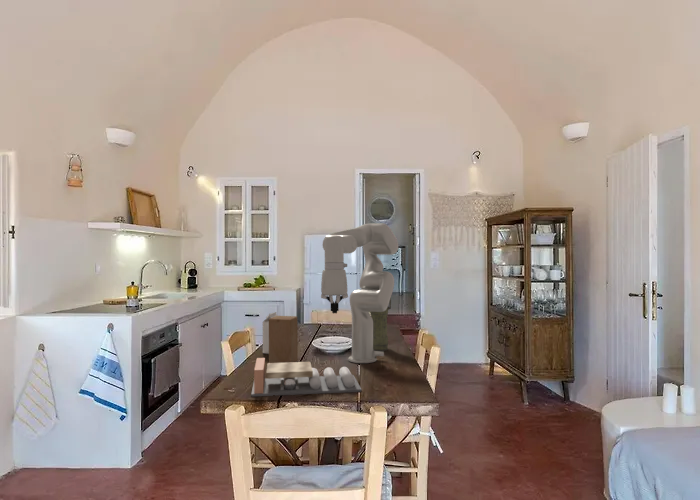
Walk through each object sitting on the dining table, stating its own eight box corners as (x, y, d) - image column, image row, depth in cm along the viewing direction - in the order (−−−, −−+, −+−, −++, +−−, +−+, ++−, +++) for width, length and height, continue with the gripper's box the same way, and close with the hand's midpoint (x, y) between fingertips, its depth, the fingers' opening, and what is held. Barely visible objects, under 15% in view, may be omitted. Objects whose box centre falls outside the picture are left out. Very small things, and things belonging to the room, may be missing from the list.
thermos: (367, 347, 243) (367, 277, 242) (390, 347, 242) (390, 278, 242) (366, 350, 234) (366, 279, 234) (391, 351, 233) (390, 279, 233)
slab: (310, 366, 182) (310, 361, 182) (312, 376, 168) (312, 371, 168) (267, 368, 180) (267, 363, 180) (266, 378, 166) (266, 372, 166)
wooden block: (290, 366, 204) (290, 319, 203) (268, 365, 206) (268, 318, 205) (297, 361, 213) (297, 316, 213) (276, 360, 215) (276, 315, 215)
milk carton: (282, 351, 233) (282, 312, 233) (275, 354, 226) (275, 314, 226) (269, 350, 235) (269, 311, 235) (262, 353, 228) (262, 313, 228)
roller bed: (353, 377, 187) (353, 354, 187) (361, 391, 168) (361, 366, 168) (254, 381, 182) (254, 357, 182) (251, 396, 163) (251, 370, 163)
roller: (294, 379, 181) (294, 368, 181) (295, 390, 168) (295, 378, 168) (283, 379, 181) (283, 368, 181) (283, 390, 167) (284, 378, 167)
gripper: (351, 265, 195) (351, 311, 195) (314, 266, 193) (315, 312, 193) (354, 267, 187) (354, 313, 188) (316, 267, 185) (316, 315, 186)
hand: (334, 312), depth 190 cm, fingers closed
